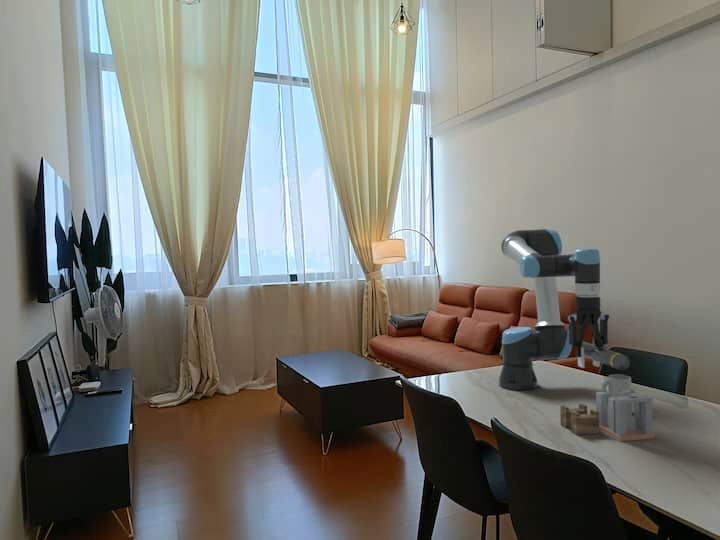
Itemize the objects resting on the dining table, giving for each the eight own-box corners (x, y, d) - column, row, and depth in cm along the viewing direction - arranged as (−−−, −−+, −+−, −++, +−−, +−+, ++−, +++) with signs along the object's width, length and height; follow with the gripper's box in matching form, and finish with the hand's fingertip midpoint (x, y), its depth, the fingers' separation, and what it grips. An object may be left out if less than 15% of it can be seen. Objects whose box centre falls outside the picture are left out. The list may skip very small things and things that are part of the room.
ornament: (646, 416, 164) (646, 385, 163) (622, 416, 165) (622, 386, 164) (638, 410, 170) (637, 380, 169) (615, 410, 171) (614, 381, 170)
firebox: (582, 419, 163) (581, 382, 162) (613, 416, 164) (613, 380, 164) (619, 441, 144) (619, 400, 144) (654, 438, 145) (654, 397, 145)
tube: (575, 355, 168) (575, 341, 168) (588, 354, 169) (588, 340, 169) (615, 370, 147) (614, 355, 146) (630, 370, 147) (629, 354, 147)
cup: (635, 404, 175) (634, 379, 175) (605, 404, 176) (605, 379, 176) (626, 398, 183) (625, 374, 182) (597, 398, 184) (597, 374, 183)
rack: (560, 424, 159) (560, 404, 158) (582, 422, 160) (582, 403, 159) (576, 435, 150) (576, 414, 150) (599, 433, 151) (599, 412, 150)
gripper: (567, 298, 159) (569, 370, 160) (620, 295, 161) (620, 367, 162) (556, 296, 167) (557, 365, 168) (606, 293, 168) (607, 362, 170)
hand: (588, 366), depth 165 cm, fingers closed on tube, 4 cm apart
